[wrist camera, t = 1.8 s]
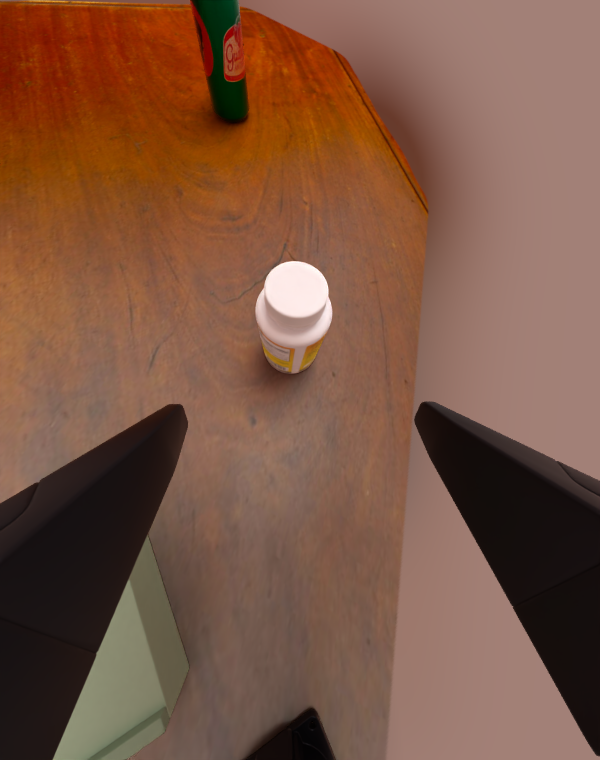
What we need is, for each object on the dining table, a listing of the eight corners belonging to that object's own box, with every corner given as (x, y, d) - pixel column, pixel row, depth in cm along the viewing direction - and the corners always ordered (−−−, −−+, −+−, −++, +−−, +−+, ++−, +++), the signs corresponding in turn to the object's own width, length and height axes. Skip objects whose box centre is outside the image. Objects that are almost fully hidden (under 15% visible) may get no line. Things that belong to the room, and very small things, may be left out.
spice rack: (190, 667, 16) (150, 770, 11) (75, 743, 15) (-27, 899, 10) (126, 467, 19) (72, 479, 14) (24, 514, 17) (-76, 547, 12)
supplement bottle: (313, 325, 24) (337, 250, 14) (317, 373, 22) (347, 329, 12) (262, 327, 23) (249, 248, 13) (264, 376, 22) (251, 331, 12)
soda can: (239, 130, 29) (212, -66, 18) (206, 115, 30) (158, -89, 18) (255, 110, 31) (240, -85, 19) (224, 96, 31) (190, -107, 19)
